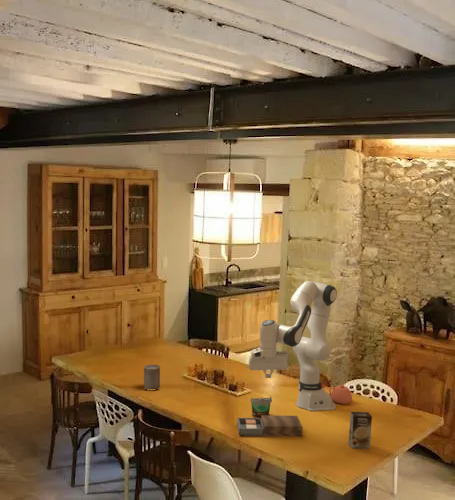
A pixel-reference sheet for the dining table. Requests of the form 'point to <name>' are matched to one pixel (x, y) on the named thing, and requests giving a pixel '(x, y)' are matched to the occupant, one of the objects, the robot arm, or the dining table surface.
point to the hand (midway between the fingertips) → (268, 377)
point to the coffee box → (360, 430)
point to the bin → (250, 431)
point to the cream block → (251, 426)
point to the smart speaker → (152, 376)
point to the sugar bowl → (340, 394)
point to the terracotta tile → (250, 422)
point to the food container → (260, 406)
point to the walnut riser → (281, 425)
